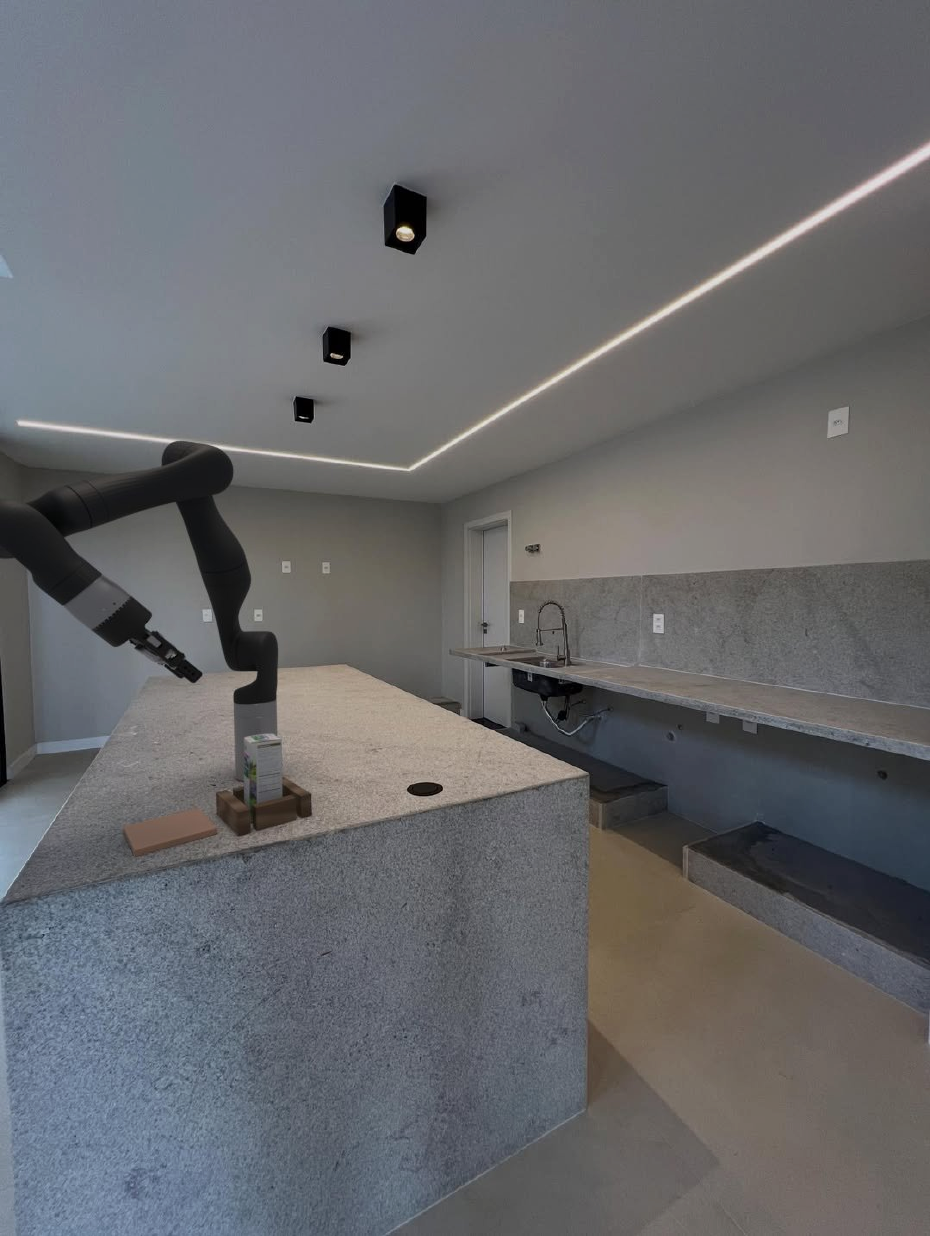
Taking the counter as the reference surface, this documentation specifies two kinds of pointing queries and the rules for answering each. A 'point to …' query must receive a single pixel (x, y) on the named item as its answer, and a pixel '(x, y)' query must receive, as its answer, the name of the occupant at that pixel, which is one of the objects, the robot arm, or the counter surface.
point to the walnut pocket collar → (263, 808)
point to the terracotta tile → (168, 831)
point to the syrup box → (262, 769)
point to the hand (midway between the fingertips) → (191, 676)
